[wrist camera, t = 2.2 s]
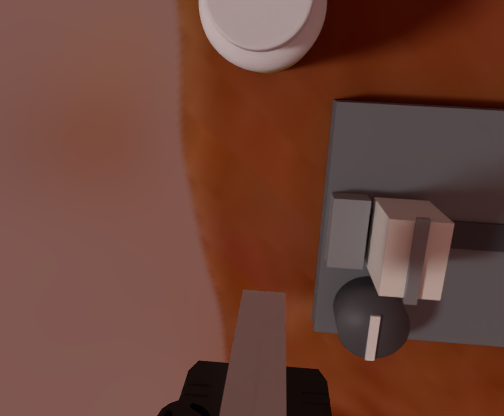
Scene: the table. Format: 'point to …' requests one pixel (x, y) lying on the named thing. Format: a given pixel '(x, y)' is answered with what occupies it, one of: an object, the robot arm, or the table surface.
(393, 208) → the fader knob
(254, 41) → the supplement bottle
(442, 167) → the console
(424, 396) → the table surface
